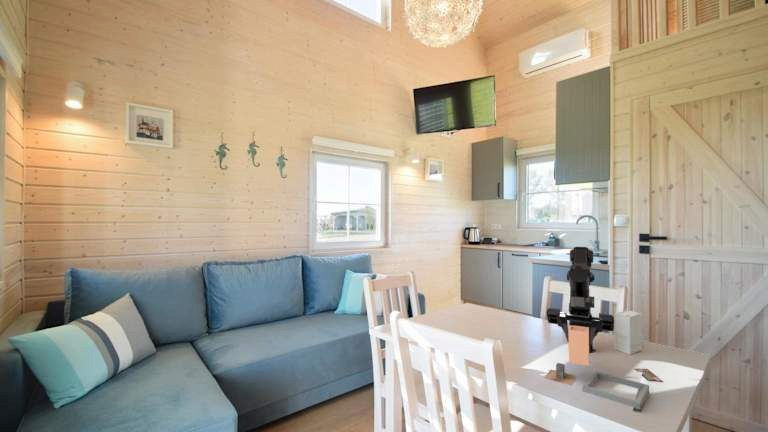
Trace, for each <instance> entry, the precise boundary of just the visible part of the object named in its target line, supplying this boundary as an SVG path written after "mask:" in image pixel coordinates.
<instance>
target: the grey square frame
mask: <svg viewBox="0 0 768 432" xmlns="http://www.w3.org/2000/svg"><path fill="white" fill-rule="evenodd" d="M598 379H601V380H604V381H605V380H606V381H609V382H612V383H616V384H620V385H624V386H627V387H631V388H634V389H637V393H636V396H635V399H632V398H629V397H627V396H623V395H622V396H621V395H620V394H615V393H612V392H608V391H606V390H601V389H599V388H595V387H593V385H594V384H595V383H596V381H597V380H598ZM581 391H582V392H584V393H586V394H590V395H594V396H597V397H600V398H602V399H606V400H609V401H613V402H617V403H619V404H622V405H625V406H628V407H632V411H635V412H636V413H641V411H642V409H643V407H644V405H645V404H646V401H647V400H648V398H649V395H650V385H649V384H646V383H642V382H639V381H635V380H632V379H628V378H624V377H619V376H617V375H612V374H609V373H605V372H600V371H597V370H595V371H594V373H592V374H591V376H589V378H588V379H587V380H586V381H585V382H584V383H583V385H581Z"/></svg>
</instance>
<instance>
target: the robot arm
mask: <svg viewBox="0 0 768 432" xmlns="http://www.w3.org/2000/svg"><path fill="white" fill-rule="evenodd" d="M569 261H570V262H571V265H570V266H569V270H567V272H566V281H568V282H569V287H570V289H569V302H568V312H569V313H567V312H563V311H561V308H553V307H548V308H547V309H546V318H547V323H549V324H553V325H557V326H558V327H560V328H561V329H562V331H563V333H564V335H565V340H566V342H567V343H568V344H569V335H568V329H569V325H574V326H582V327H589V353H594V352H596V349H594V345H593V341H594V339H595V337H597V335H598V333H602V332H603V331H608V332H615V316H614V315H612V314H608V313H598V317H597V316H593V315H592V314H591V312H590V311H591V310H590V309H591V308H593V309H595V296H591V295H590V286H591V283H593V282H594V281H595V275H594V273H593V272H592V271H591V269H592V264H594V251H593V250H591V249H589V247H586V246H574V247H573V249H571V250H569ZM568 321H569V325H568Z"/></svg>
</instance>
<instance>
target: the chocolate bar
mask: <svg viewBox="0 0 768 432" xmlns="http://www.w3.org/2000/svg"><path fill="white" fill-rule="evenodd" d="M633 370H635V371H636V372H638V373H642V374H641V376H642V377H643V378H644V379H645V380H646V381H648V382H659V383H664V380H661V378H659V376H657V375H655V374H654V373H653V372H652V371H651V370H649V369H648V368H637V367H636V368H633Z"/></svg>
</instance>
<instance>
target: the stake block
mask: <svg viewBox="0 0 768 432" xmlns="http://www.w3.org/2000/svg"><path fill="white" fill-rule="evenodd" d="M565 367H566V366H565V364H564V363H559V362H557V363H556V364H555V370H554V369H549V371H548V372H547V373H546V375H545V376H544V377H543V378H544V379H545V380H546V379H547V380H550V381H553V382H557V383H562V384H565V385H569V386H572V384H573V383H574V382H575V380H576V379H577V376H578V375H576V374H575V375H574V374H572V373H571V374H570V373H566V372H565V370H566V369H565Z"/></svg>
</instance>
